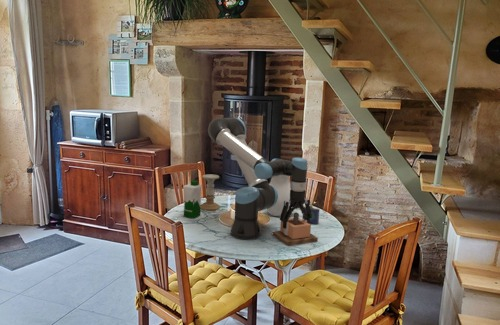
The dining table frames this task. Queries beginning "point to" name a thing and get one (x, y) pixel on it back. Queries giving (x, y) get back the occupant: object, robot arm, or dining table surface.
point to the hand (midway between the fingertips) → (294, 233)
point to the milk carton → (192, 200)
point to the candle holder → (210, 194)
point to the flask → (313, 215)
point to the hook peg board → (290, 241)
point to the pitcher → (280, 193)
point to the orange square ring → (297, 229)
